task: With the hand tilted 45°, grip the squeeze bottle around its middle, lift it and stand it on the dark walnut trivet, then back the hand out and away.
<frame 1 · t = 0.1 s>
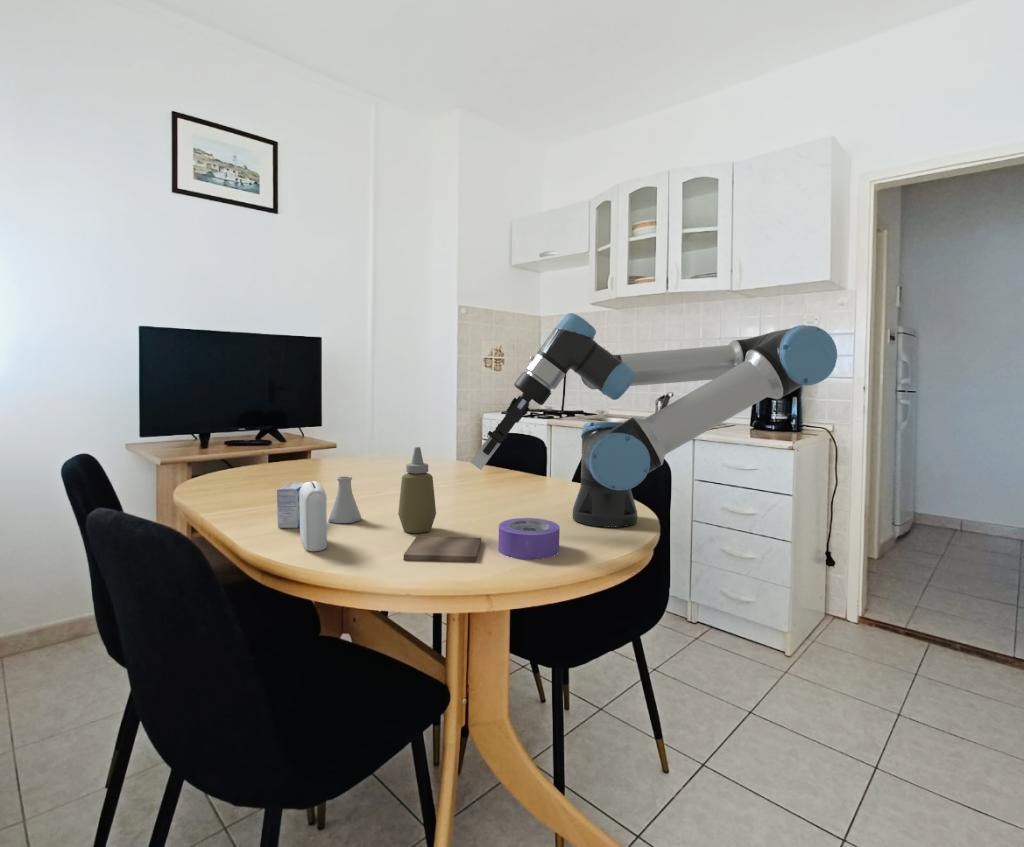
hand: (478, 461, 119), 15 cm above the table, tool tilted 35°, fingers open, 13 cm apart
flask: (345, 521, 128), on the table
medicine box: (294, 524, 124), on the table
tape roll: (528, 551, 108), on the table
squeeze bottle: (417, 531, 121), on the table
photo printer: (313, 545, 109), on the table
walnut trivet: (444, 550, 106), on the table
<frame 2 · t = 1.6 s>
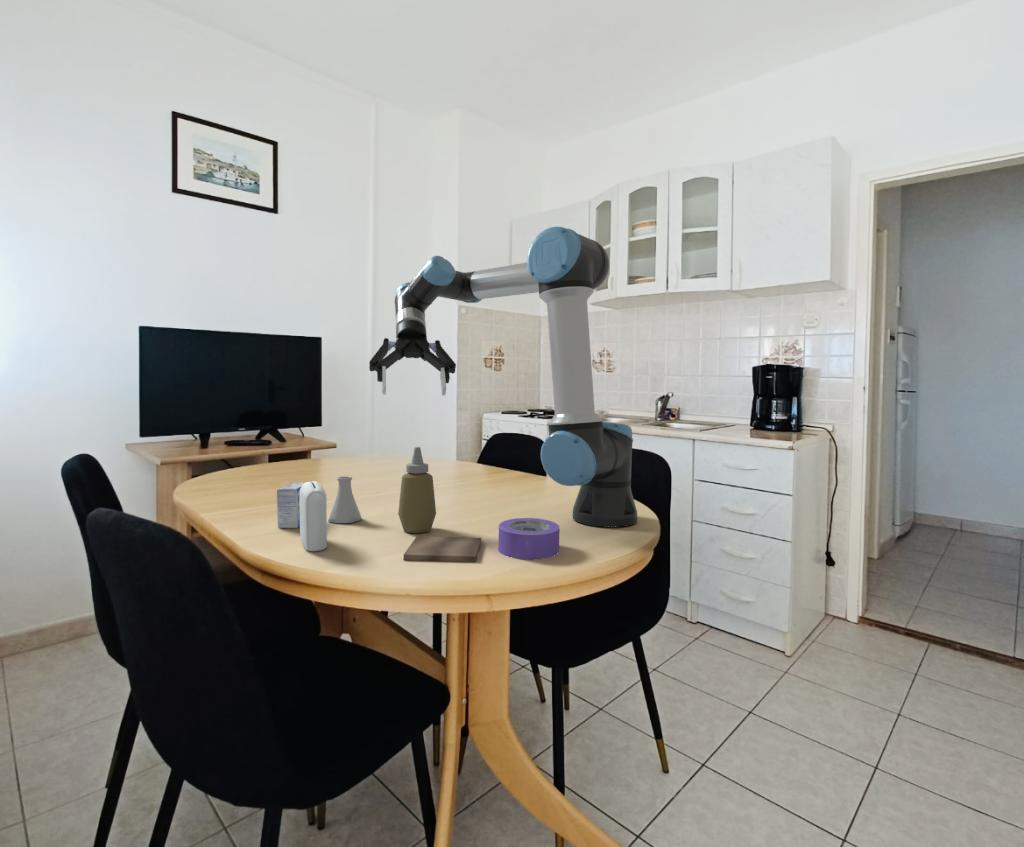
hand: (414, 391, 128), 30 cm above the table, tool tilted 45°, fingers open, 13 cm apart
nothing on the table moved.
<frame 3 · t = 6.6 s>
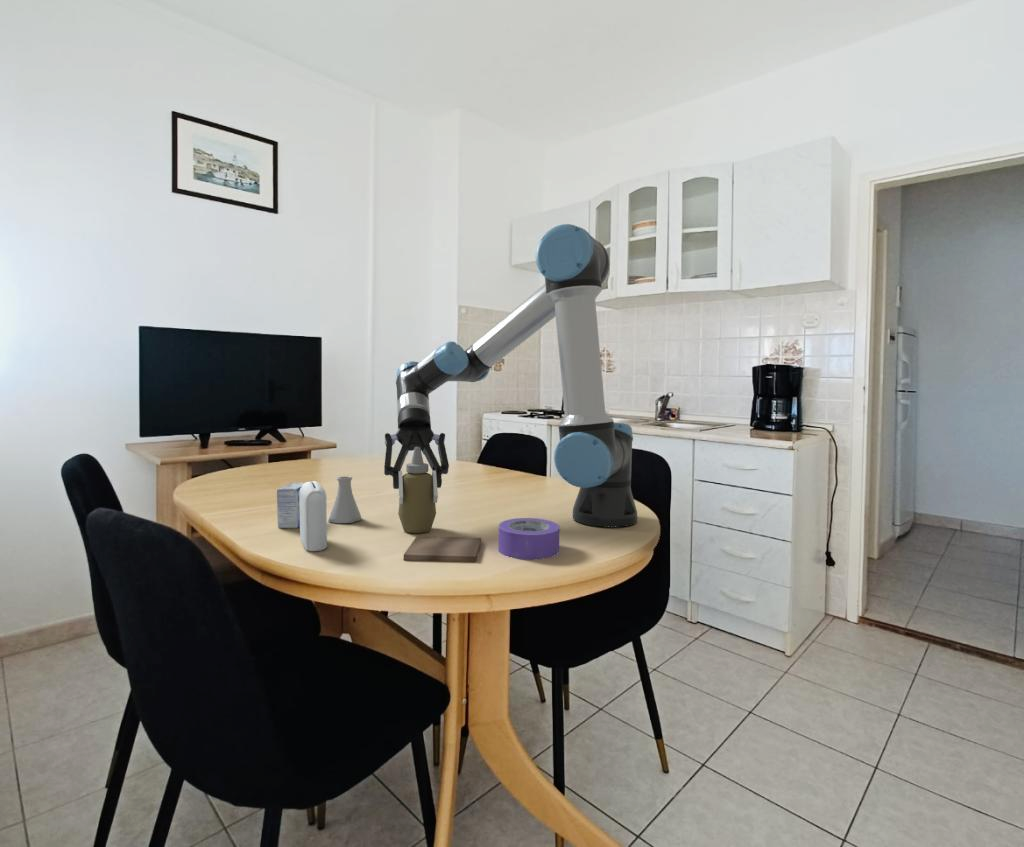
hand: (418, 499, 116), 7 cm above the table, tool tilted 45°, fingers closed on squeeze bottle, 6 cm apart
squeeze bottle: (417, 531, 121), on the table, touching gripper
everything else where it was.
when the fingers open (9 cm above the table, at t = 12.6 s): squeeze bottle stays where it is, resting on walnut trivet.
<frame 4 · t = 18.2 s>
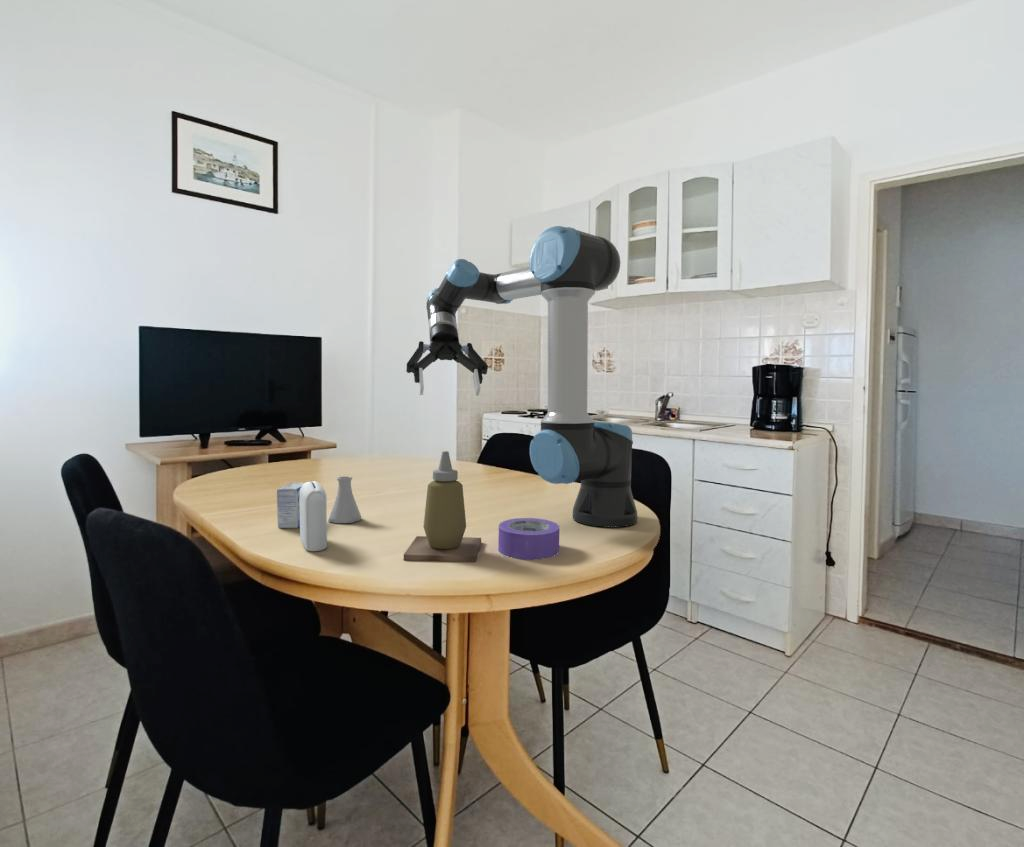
hand: (450, 391, 135), 30 cm above the table, tool tilted 45°, fingers open, 13 cm apart
squeeze bottle: (444, 546, 106), point 1 cm above the table, touching walnut trivet
everything else where it was.
at the end: squeeze bottle inside the target area on the walnut trivet (0.1 cm from its centre), point 0.8 cm above the walnut trivet's base; squeeze bottle tilted 0°; the gripper is holding nothing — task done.
